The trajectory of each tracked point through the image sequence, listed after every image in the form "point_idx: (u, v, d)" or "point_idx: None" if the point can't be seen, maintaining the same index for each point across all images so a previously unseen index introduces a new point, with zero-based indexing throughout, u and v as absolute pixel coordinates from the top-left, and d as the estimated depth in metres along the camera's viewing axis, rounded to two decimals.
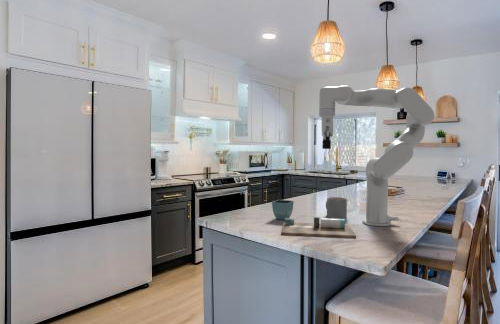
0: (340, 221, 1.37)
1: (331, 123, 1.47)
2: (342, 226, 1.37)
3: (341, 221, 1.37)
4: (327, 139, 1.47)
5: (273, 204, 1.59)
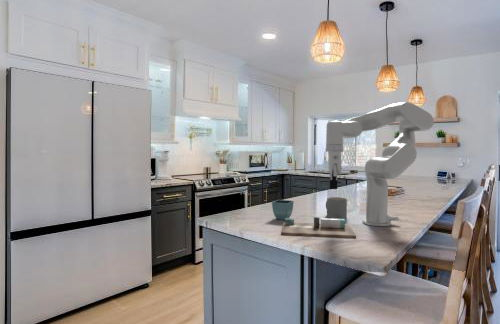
0: (340, 221, 1.37)
1: (339, 160, 1.38)
2: (342, 226, 1.37)
3: (341, 221, 1.37)
4: (334, 179, 1.42)
5: (273, 204, 1.59)
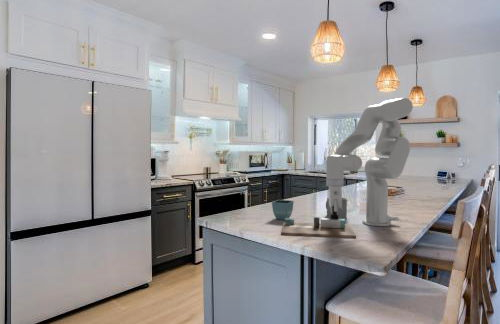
0: (340, 221, 1.37)
1: (339, 196, 1.36)
2: (342, 227, 1.37)
3: (341, 221, 1.37)
4: (334, 214, 1.40)
5: (273, 204, 1.59)
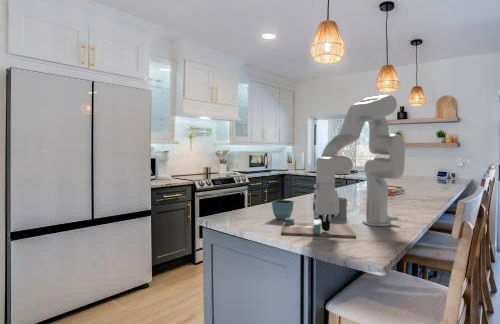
0: (314, 225, 1.30)
1: (316, 200, 1.28)
2: (314, 231, 1.29)
3: (314, 225, 1.30)
4: None
5: (273, 204, 1.59)
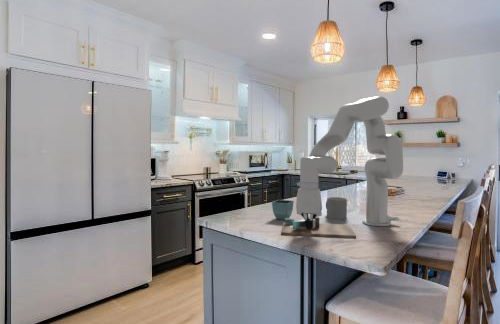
0: None
1: None
2: None
3: None
4: None
5: (273, 204, 1.59)
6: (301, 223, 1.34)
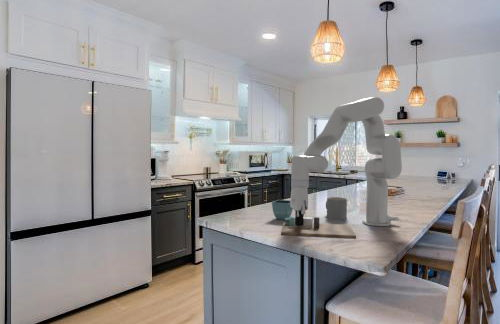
0: None
1: None
2: None
3: None
4: None
5: (273, 204, 1.59)
6: None
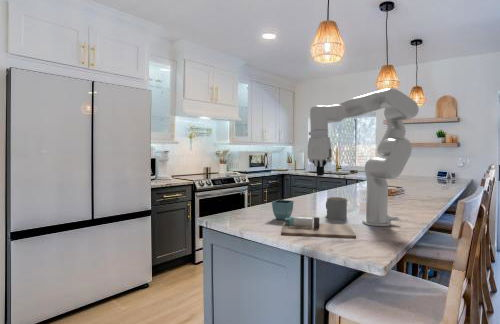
0: None
1: None
2: None
3: None
4: None
5: (273, 204, 1.59)
6: (295, 220, 1.41)
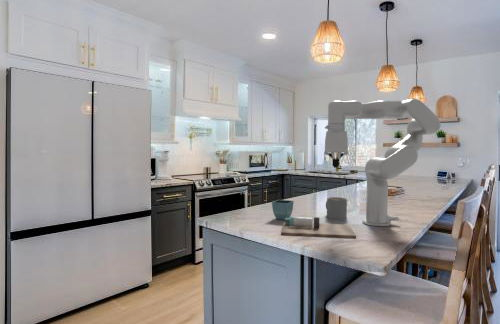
0: None
1: (325, 139, 1.46)
2: None
3: None
4: None
5: (273, 204, 1.59)
6: (295, 220, 1.41)
